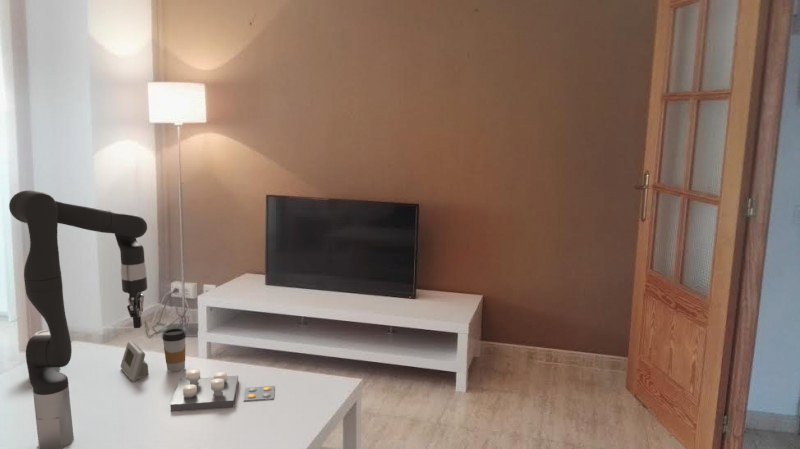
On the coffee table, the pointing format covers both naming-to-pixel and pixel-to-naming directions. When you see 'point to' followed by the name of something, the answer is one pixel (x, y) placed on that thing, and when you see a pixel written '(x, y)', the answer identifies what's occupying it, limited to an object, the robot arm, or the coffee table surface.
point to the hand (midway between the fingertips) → (137, 327)
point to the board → (205, 395)
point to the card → (259, 393)
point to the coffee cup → (174, 349)
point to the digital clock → (134, 362)
